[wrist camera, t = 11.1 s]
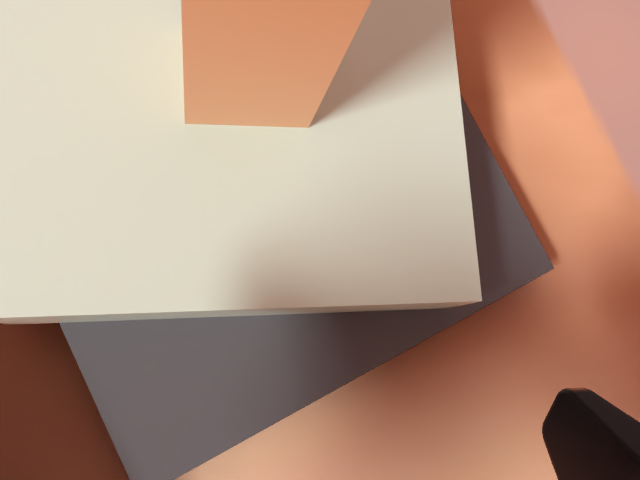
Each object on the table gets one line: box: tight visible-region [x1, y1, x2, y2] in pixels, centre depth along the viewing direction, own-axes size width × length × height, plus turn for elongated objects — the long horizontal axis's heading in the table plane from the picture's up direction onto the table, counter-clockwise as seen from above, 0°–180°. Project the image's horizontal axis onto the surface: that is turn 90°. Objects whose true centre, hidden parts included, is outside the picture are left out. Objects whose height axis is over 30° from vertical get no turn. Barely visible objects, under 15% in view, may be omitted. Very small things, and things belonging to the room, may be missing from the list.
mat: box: [59, 94, 554, 480], centre depth 17 cm, size 16×13×1 cm
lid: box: [0, 0, 482, 325], centre depth 12 cm, size 11×11×10 cm
